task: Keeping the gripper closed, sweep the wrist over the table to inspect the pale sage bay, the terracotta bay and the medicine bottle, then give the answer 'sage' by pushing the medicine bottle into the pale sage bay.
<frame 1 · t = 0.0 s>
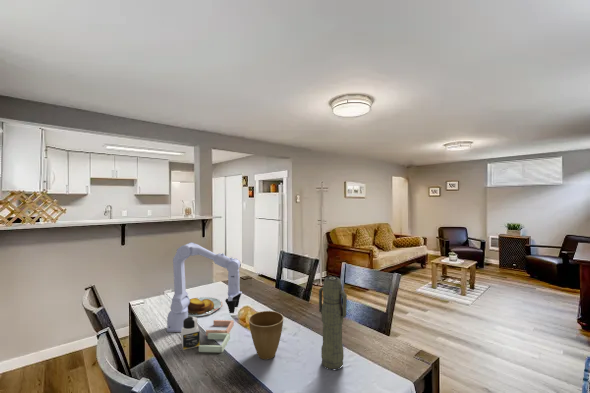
hand: (233, 309, 144), 10 cm above the table, fingers open, 7 cm apart
sage bay: (214, 344, 129), on the table
medicine bottle: (190, 345, 129), on the table
terracotta bay: (219, 330, 143), on the table
food on plate: (200, 309, 170), on the table
thermos: (332, 364, 115), on the table
plant pot: (266, 355, 121), on the table
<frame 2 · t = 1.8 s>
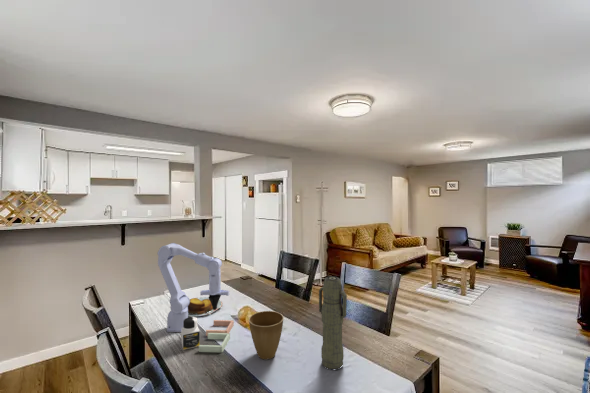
hand: (215, 309, 144), 10 cm above the table, fingers closed
nothing on the table moved.
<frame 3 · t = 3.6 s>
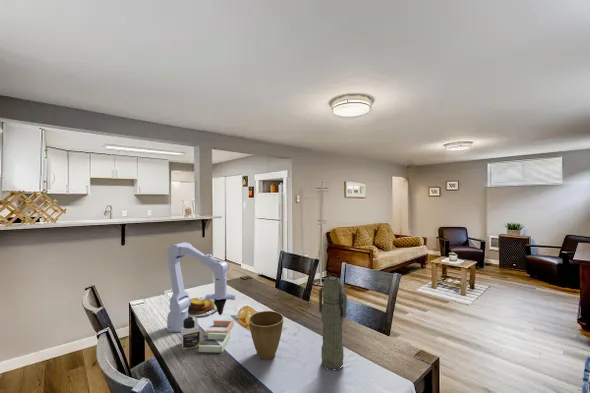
hand: (220, 314, 138), 10 cm above the table, fingers closed
nothing on the table moved.
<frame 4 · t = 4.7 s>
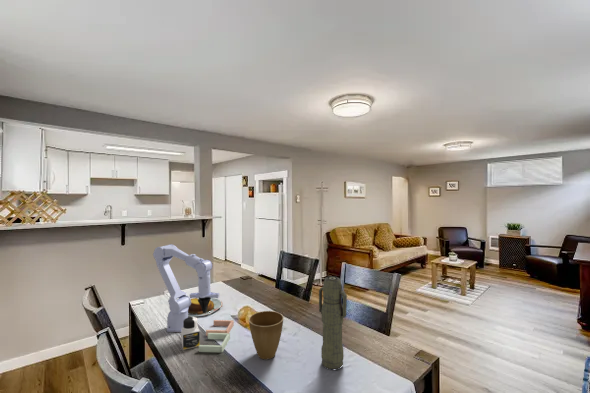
hand: (204, 312, 140), 10 cm above the table, fingers closed
nothing on the table moved.
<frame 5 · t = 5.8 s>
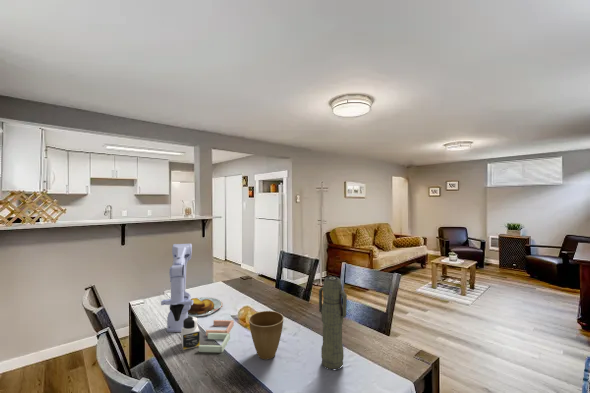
hand: (177, 320, 131), 10 cm above the table, fingers closed
nothing on the table moved.
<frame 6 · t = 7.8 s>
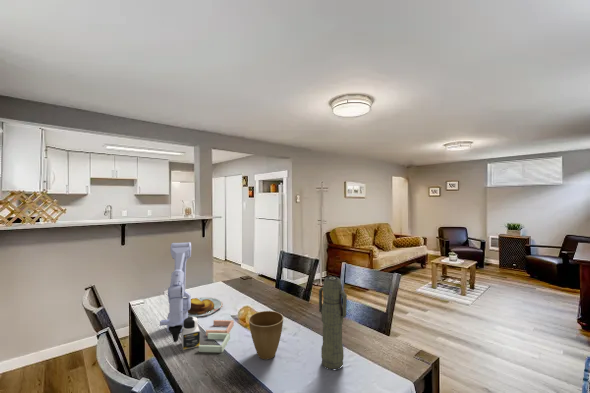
hand: (176, 340, 130), 1 cm above the table, fingers closed
medicine bottle: (190, 344, 129), on the table, touching gripper
everything else where it was.
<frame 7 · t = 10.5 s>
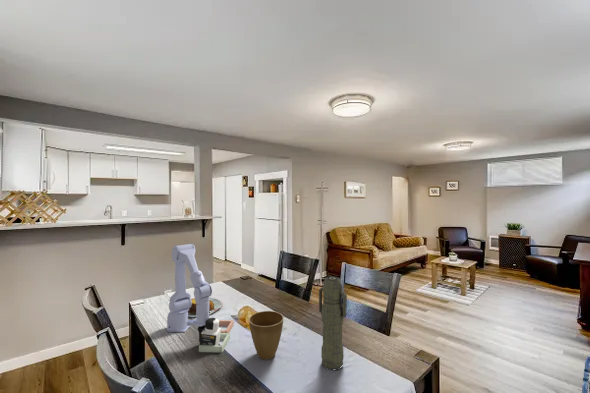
hand: (202, 341, 129), 2 cm above the table, fingers closed, pressing on medicine bottle
medicine bottle: (209, 346, 128), on the table, touching gripper, sage bay
everything else where it was.
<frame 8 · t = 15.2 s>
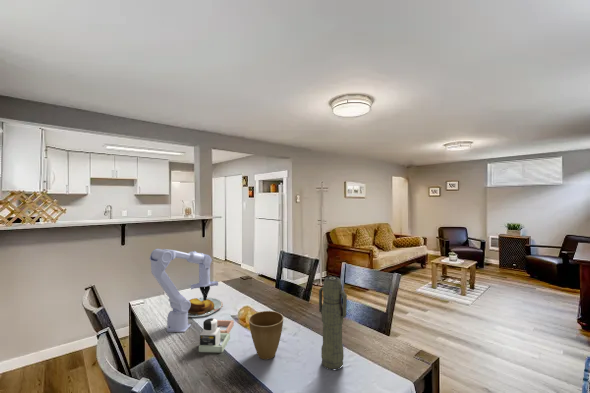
hand: (204, 299, 157), 10 cm above the table, fingers closed
medicine bottle: (210, 346, 128), on the table
everything else where it was.
at the end: medicine bottle 1.5 cm off-centre on the sage bay, point 0.0 cm above the sage bay's base; medicine bottle tilted 0°; medicine bottle moved 9.8 cm from its start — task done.
